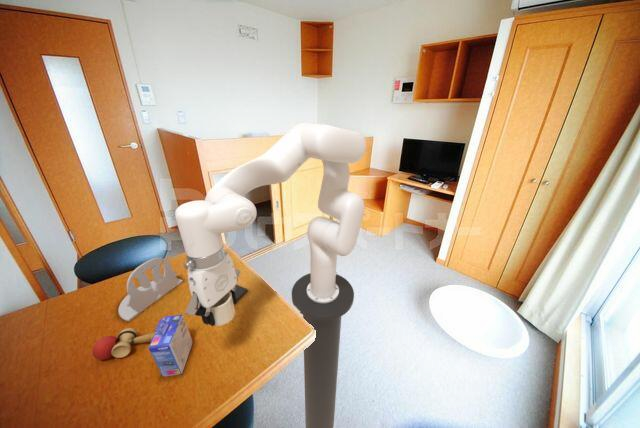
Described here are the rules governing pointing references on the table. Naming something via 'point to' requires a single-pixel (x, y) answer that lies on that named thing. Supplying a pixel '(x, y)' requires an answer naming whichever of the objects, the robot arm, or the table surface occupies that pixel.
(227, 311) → the beige cup
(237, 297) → the scale
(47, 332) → the table surface
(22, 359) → the table surface
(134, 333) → the kendama
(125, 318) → the ornament
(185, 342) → the ink cartridge box
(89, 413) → the table surface
